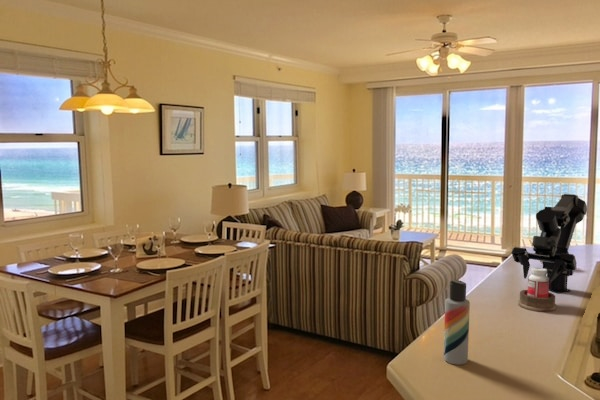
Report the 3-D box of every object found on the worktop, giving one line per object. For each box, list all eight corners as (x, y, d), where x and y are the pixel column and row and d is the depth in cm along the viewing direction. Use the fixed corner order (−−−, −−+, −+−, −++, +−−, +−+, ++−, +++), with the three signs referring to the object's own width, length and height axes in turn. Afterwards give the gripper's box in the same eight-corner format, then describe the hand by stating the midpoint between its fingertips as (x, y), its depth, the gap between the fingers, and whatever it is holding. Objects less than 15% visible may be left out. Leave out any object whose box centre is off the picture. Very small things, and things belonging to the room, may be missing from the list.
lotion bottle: (440, 355, 125) (442, 277, 122) (462, 354, 125) (464, 277, 123) (448, 365, 119) (451, 284, 117) (471, 364, 119) (474, 283, 117)
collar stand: (537, 299, 168) (538, 287, 168) (563, 309, 158) (564, 297, 157) (510, 302, 165) (511, 290, 165) (535, 313, 155) (536, 301, 154)
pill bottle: (549, 302, 162) (551, 268, 161) (545, 306, 157) (547, 272, 156) (529, 298, 166) (530, 266, 165) (524, 302, 161) (526, 269, 160)
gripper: (514, 223, 167) (501, 261, 161) (576, 229, 155) (565, 271, 148) (521, 242, 174) (509, 280, 167) (581, 249, 162) (570, 290, 155)
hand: (536, 280), depth 159 cm, fingers open, 7 cm apart
